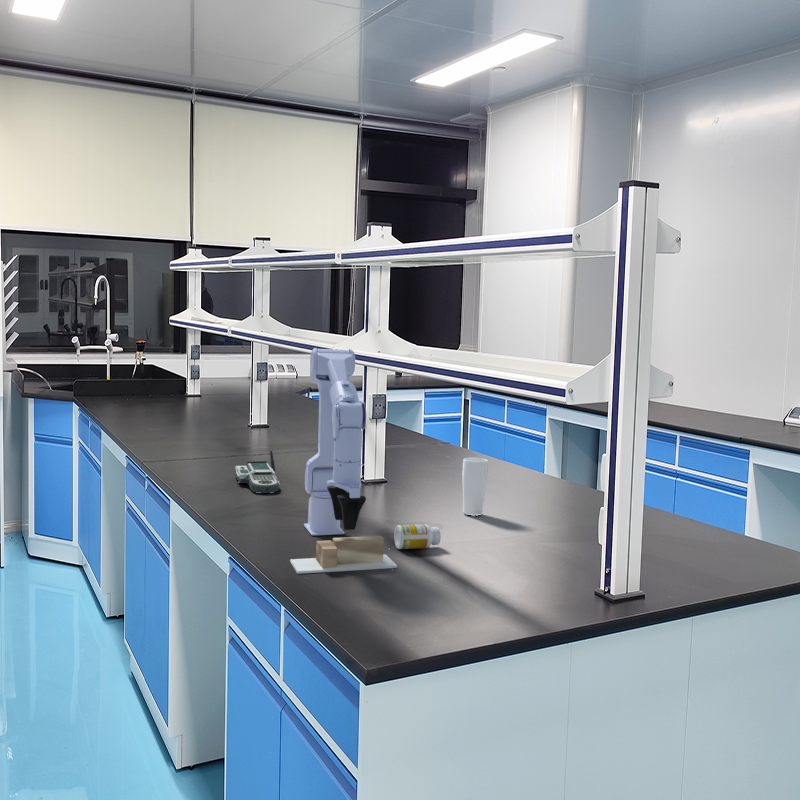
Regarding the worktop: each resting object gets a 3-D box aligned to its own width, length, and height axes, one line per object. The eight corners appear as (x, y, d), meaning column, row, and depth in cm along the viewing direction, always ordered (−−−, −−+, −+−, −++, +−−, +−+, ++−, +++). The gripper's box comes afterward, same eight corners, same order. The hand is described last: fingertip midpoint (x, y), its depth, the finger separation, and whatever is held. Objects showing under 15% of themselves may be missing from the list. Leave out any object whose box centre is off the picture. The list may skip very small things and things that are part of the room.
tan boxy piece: (315, 559, 171) (316, 536, 170) (377, 556, 175) (378, 533, 174) (322, 568, 165) (323, 544, 164) (385, 564, 169) (386, 541, 169)
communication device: (243, 497, 228) (243, 466, 227) (232, 478, 251) (233, 450, 250) (285, 495, 232) (286, 465, 231) (271, 477, 255) (272, 449, 254)
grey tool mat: (290, 561, 170) (290, 559, 170) (385, 556, 177) (385, 554, 177) (297, 573, 162) (297, 571, 162) (396, 567, 169) (396, 565, 169)
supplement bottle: (394, 549, 184) (434, 547, 187) (401, 549, 179) (442, 548, 182) (393, 525, 185) (433, 524, 188) (400, 524, 180) (441, 523, 183)
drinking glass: (470, 518, 213) (473, 462, 211) (454, 512, 219) (457, 458, 217) (490, 516, 217) (493, 460, 215) (474, 510, 222) (477, 456, 221)
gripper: (320, 453, 173) (318, 516, 174) (336, 467, 159) (334, 534, 161) (352, 453, 175) (350, 515, 176) (371, 466, 161) (368, 533, 163)
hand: (344, 524), depth 169 cm, fingers open, 7 cm apart
